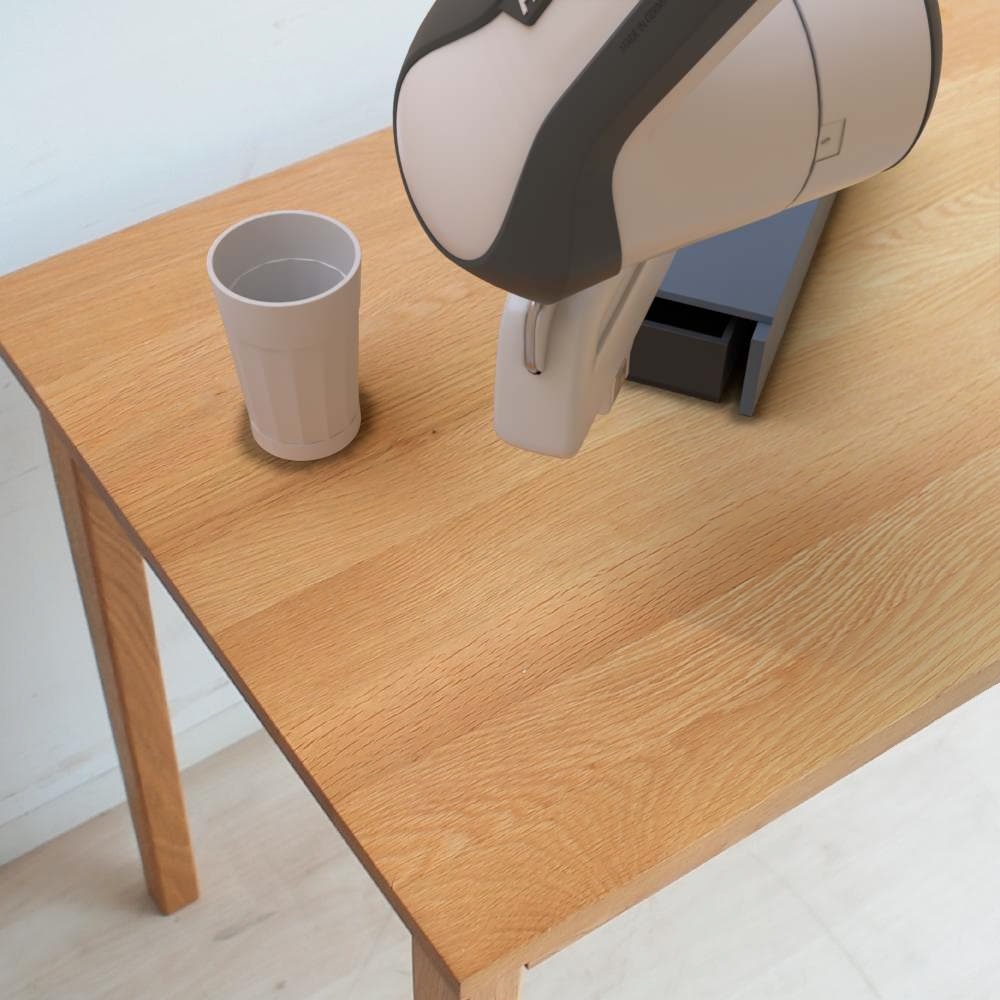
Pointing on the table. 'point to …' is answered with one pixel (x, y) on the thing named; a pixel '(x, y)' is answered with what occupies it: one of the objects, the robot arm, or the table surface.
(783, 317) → the cubby shelf
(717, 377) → the basket
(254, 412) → the cup
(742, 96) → the robot arm
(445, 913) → the table surface
